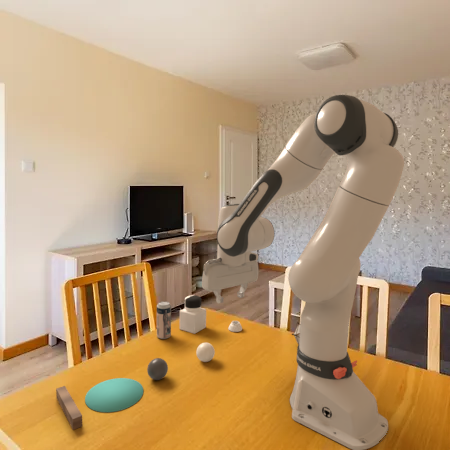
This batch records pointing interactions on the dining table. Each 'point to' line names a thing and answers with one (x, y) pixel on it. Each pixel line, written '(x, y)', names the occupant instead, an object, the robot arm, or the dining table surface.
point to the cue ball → (205, 352)
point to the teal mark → (114, 395)
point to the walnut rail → (69, 407)
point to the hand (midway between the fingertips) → (230, 299)
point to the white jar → (235, 326)
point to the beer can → (163, 320)
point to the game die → (297, 333)
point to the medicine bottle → (192, 315)
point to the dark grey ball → (157, 369)
